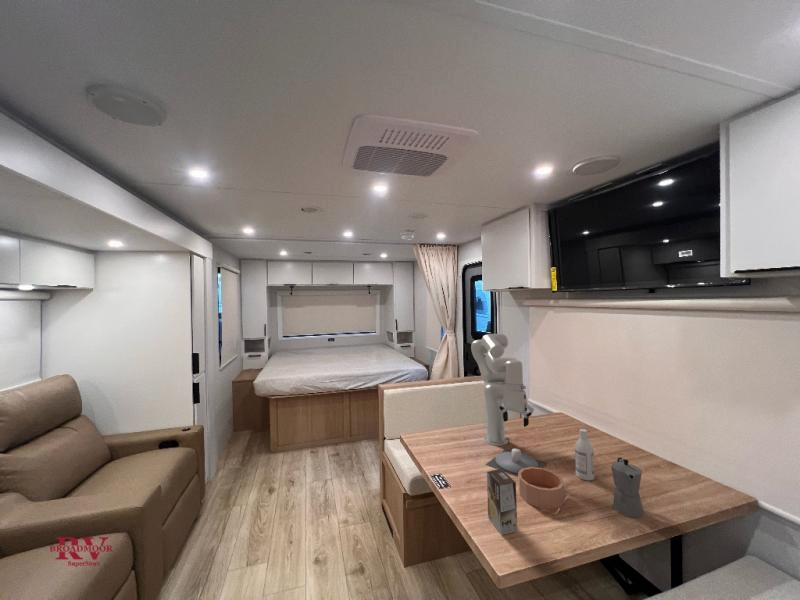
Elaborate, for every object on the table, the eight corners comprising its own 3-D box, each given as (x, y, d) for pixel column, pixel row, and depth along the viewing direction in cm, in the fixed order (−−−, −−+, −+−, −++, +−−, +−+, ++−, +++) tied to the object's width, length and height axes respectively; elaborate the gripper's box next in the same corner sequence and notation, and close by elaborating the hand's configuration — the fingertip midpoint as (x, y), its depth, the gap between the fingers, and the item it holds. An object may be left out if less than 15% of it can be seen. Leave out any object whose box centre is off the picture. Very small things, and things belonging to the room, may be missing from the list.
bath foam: (588, 472, 136) (586, 427, 137) (598, 481, 129) (596, 433, 130) (572, 472, 136) (571, 427, 137) (581, 481, 129) (580, 433, 130)
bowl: (528, 479, 131) (527, 463, 131) (569, 495, 120) (568, 477, 120) (512, 496, 119) (511, 478, 120) (556, 515, 108) (555, 495, 109)
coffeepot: (651, 525, 103) (648, 471, 103) (617, 518, 106) (615, 466, 107) (634, 498, 117) (633, 451, 118) (606, 493, 121) (604, 447, 121)
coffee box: (518, 531, 101) (517, 482, 101) (501, 535, 99) (499, 485, 100) (503, 513, 110) (501, 468, 110) (486, 516, 108) (485, 471, 109)
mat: (505, 450, 158) (505, 449, 158) (547, 463, 144) (547, 463, 144) (485, 465, 143) (485, 464, 143) (530, 482, 129) (530, 481, 129)
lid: (506, 450, 157) (505, 438, 157) (544, 463, 144) (544, 449, 144) (488, 464, 143) (487, 451, 144) (529, 479, 130) (528, 465, 130)
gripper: (536, 388, 141) (537, 425, 141) (500, 382, 153) (501, 417, 153) (529, 391, 136) (531, 430, 135) (493, 385, 148) (494, 421, 147)
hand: (515, 423), depth 144 cm, fingers open, 9 cm apart
